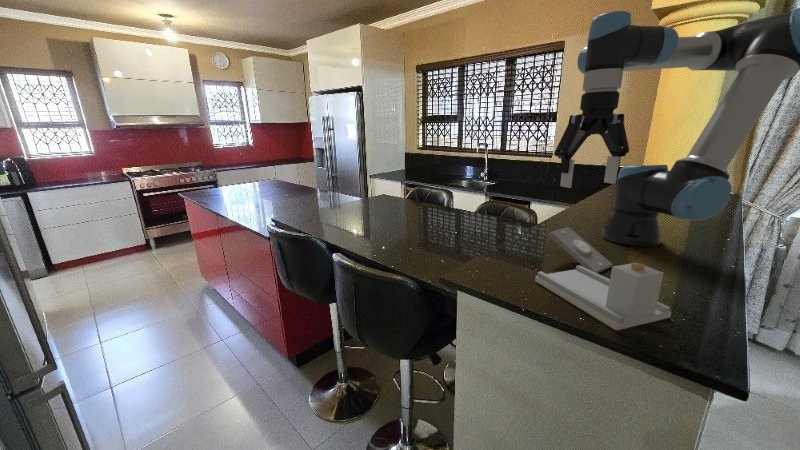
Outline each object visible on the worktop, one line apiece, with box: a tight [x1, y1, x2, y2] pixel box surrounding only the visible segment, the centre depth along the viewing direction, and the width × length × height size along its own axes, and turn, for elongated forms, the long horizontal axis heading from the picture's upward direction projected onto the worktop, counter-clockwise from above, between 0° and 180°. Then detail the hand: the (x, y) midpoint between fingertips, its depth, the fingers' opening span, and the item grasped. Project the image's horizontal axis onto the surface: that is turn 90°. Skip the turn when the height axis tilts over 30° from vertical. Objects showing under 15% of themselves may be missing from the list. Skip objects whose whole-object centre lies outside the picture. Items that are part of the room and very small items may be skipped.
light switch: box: [548, 226, 614, 274], centre depth 88 cm, size 8×6×14 cm
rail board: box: [534, 262, 672, 331], centre depth 69 cm, size 13×21×10 cm, turn 18°
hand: (588, 185), depth 82 cm, fingers open, 13 cm apart
